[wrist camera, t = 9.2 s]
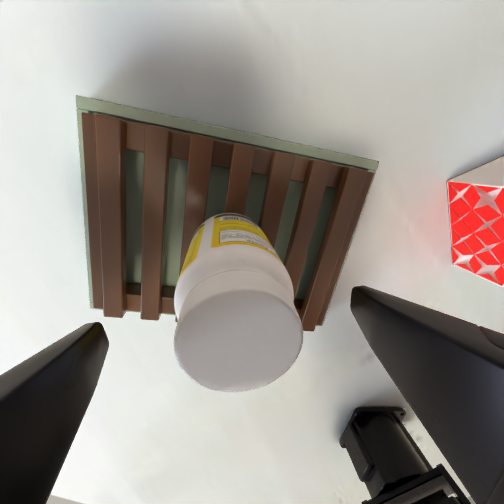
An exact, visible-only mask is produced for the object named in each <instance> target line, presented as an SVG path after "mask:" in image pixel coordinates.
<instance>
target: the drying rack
mask: <svg viewBox="0 0 504 504" xmlns="http://www.w3.org/2000/svg"><path fill="white" fill-rule="evenodd" d="M81 117H82V133H83V149H84V166H85V182H86V198H87V215H88V231H89V247H90V264H91V280H92V296H93V308H97V309H103V311H104V316H105V317H117V318H122V317H123V316H124V314H125V313H126V311H137V312H141V315H140V318H141V319H145V320H159V318H160V315H161V313H163V314H176V313H175V308H174V294H175V289H176V287H169V286H163V270H164V253H165V235H166V217H167V200H168V182H169V165H170V158H175V159H180V160H186V161H189V162H188V174H187V186H186V198H185V210H184V222H183V234H182V246H181V258H180V270H179V276H180V273H181V270H182V267H183V265H184V262H185V258H186V255H187V252H188V249H189V246H190V243H191V240H192V237H193V235H194V233H195V232H196V230H197V229H198V228H199V226H200V225H201V224H202V223H204V222H205V215H206V207H207V198H208V189H209V181H210V172H211V165H212V166H217V167H223V168H228V169H230V173H229V180H228V187H227V194H226V202H225V209H224V213H236V214H241V215H244V214H245V208H246V202H247V196H248V190H249V185H250V179H251V173H255V174H260V175H265V176H268V178H267V183H266V189H265V194H264V199H263V204H262V209H261V214H260V219H259V224H258V226H259V227H260V228H261V229H262V231H263V232H264V234H265V236H266V237H267V239H268V240H269V242H270V244H271V245H272V247H273V249H274V247H275V242H276V238H277V234H278V229H279V225H280V221H281V216H282V212H283V208H284V203H285V199H286V194H287V190H288V186H289V181H290V180H292V181H297V182H302V183H304V184H303V188H302V192H301V196H300V200H299V204H298V208H297V212H296V216H295V220H294V224H293V228H292V232H291V236H290V240H289V244H288V248H287V252H286V256H285V260H284V264H283V265H284V266H285V268H286V270H287V272H288V274H289V276H290V279H291V281H292V285H293V291H294V297H295V294H296V290H297V287H298V283H299V280H300V276H301V273H302V269H303V266H304V262H305V259H306V255H307V252H308V248H309V244H310V241H311V237H312V234H313V230H314V227H315V223H316V220H317V216H318V213H319V209H320V206H321V202H322V199H323V195H324V191H325V188H326V187H329V188H334V189H337V192H336V195H335V199H334V202H333V205H332V209H331V212H330V215H329V219H328V222H327V225H326V229H325V232H324V235H323V239H322V242H321V245H320V249H319V252H318V255H317V258H316V262H315V265H314V268H313V272H312V275H311V278H310V282H309V285H308V288H307V292H306V295H305V298H304V299H295V298H294V301H293V303H294V306H295V308H296V310H297V313H298V315H299V317H300V320H301V323H302V328H303V331H314V329H315V326H316V325H322V323H323V320H324V317H325V314H326V312H327V309H328V306H329V303H330V300H331V297H332V294H333V291H334V288H335V286H336V283H337V280H338V277H339V274H340V271H341V268H342V265H343V262H344V260H345V257H346V254H347V251H348V248H349V245H350V242H351V239H352V236H353V233H354V231H355V228H356V225H357V222H358V219H359V216H360V213H361V210H362V207H363V205H364V202H365V199H366V196H367V193H368V190H369V187H370V184H371V181H372V179H373V176H374V173H373V172H369V171H367V170H363V169H359V168H354V167H346V166H340V165H335V164H332V163H330V162H325V161H320V160H316V159H306V158H302V157H297V156H295V155H292V154H287V153H282V152H277V151H275V152H273V151H268V150H263V149H258V148H256V147H253V146H249V145H244V144H239V143H230V142H225V141H220V140H215V139H213V138H210V137H206V136H201V135H196V134H186V133H182V132H177V131H172V130H169V129H167V128H162V127H158V126H153V125H148V124H145V125H143V124H138V123H134V122H129V121H124V120H122V119H119V118H115V117H110V116H105V115H100V114H90V113H85V112H82V113H81ZM126 149H127V150H133V151H138V152H143V153H144V173H143V220H142V268H141V284H137V283H127V282H126ZM175 321H176V322H178V319H177V317H176V318H175Z"/></svg>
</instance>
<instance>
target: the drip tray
mask: <svg viewBox="0 0 504 504" xmlns="http://www.w3.org/2000/svg"><path fill="white" fill-rule="evenodd" d="M76 107H77V121H78V136H79V151H80V166H81V181H82V196H83V211H84V226H85V241H86V256H87V271H88V286H89V301H90V309H97V308H93V296H92V280H91V264H90V247H89V231H88V215H87V198H86V182H85V166H84V149H83V133H82V117H81V113H82V112H85V113H90V114H100V115H105V116H110V117H115V118H119V119H122V120H124V121H129V122H134V123H138V124H143V125H145V124H148V125H153V126H158V127H162V128H167V129H169V130H172V131H177V132H182V133H186V134H196V135H201V136H206V137H210V138H213V139H215V140H220V141H225V142H230V143H239V144H244V145H249V146H253V147H256V148H258V149H263V150H268V151H273V152H275V151H277V152H282V153H287V154H292V155H295V156H297V157H302V158H306V159H316V160H320V161H325V162H330V163H332V164H335V165H340V166H346V167H354V168H359V169H363V170H367V171H369V172H373V173H374V175H375V172H376V171H375V170H376V169H377V166H378V163H379V161H375V160H370V159H366V158H361V157H357V156H352V155H347V154H343V153H338V152H334V151H329V150H325V149H320V148H315V147H311V146H306V145H302V144H297V143H293V142H288V141H284V140H279V139H274V138H270V137H265V136H261V135H256V134H252V133H247V132H242V131H238V130H233V129H229V128H224V127H220V126H215V125H210V124H206V123H201V122H197V121H192V120H188V119H183V118H178V117H174V116H169V115H165V114H160V113H156V112H151V111H146V110H142V109H137V108H133V107H128V106H124V105H119V104H114V103H110V102H105V101H101V100H96V99H92V98H87V97H82V96H78V95H76ZM188 162H189V161H186V160H180V159H175V158H170V165H169V182H168V200H167V217H166V235H165V253H164V270H163V286H169V287H176V285H177V281H178V279H179V270H180V258H181V246H182V234H183V222H184V210H185V198H186V186H187V174H188ZM143 173H144V153H143V152H138V151H133V150H127V149H126V282H127V283H137V284H141V268H142V220H143ZM229 173H230V169H228V168H223V167H217V166H212V165H211V172H210V181H209V189H208V198H207V207H206V215H205V221H206V220H208V219H209V218H211V217H213V216H215V215H218V214H223V213H224V209H225V202H226V194H227V187H228V180H229ZM267 178H268V176H265V175H260V174H255V173H251V179H250V185H249V190H248V196H247V202H246V208H245V214H244V216H246V217H248V218H250V219H251V220H253V221H254V222H255V223H256V224H257V225H258V224H259V219H260V214H261V209H262V204H263V199H264V194H265V189H266V183H267ZM373 178H374V176H373ZM372 181H373V179H372ZM372 181H371V184H372ZM303 184H304V183H302V182H297V181H292V180H290V181H289V186H288V190H287V194H286V199H285V203H284V208H283V212H282V216H281V221H280V225H279V229H278V234H277V238H276V242H275V247H274V250H275V252H276V253H277V255H278V257H279V258H280V260H281V261H282V263H283V264H284V260H285V256H286V252H287V248H288V244H289V240H290V236H291V232H292V228H293V224H294V220H295V216H296V212H297V208H298V204H299V200H300V196H301V192H302V188H303ZM371 184H370V187H371ZM370 187H369V189H370ZM336 192H337V189H334V188H329V187H326V188H325V191H324V195H323V199H322V202H321V206H320V209H319V213H318V216H317V220H316V223H315V227H314V230H313V234H312V237H311V241H310V244H309V248H308V252H307V255H306V259H305V262H304V266H303V269H302V273H301V276H300V280H299V283H298V287H297V290H296V294H295V297H294V298H295V299H304V298H305V295H306V292H307V288H308V285H309V282H310V278H311V275H312V272H313V268H314V265H315V262H316V258H317V255H318V252H319V249H320V245H321V242H322V239H323V235H324V232H325V229H326V225H327V222H328V219H329V215H330V212H331V209H332V205H333V202H334V199H335V195H336ZM368 192H369V190H368ZM367 195H368V193H367ZM366 198H367V196H366ZM365 201H366V199H365ZM364 204H365V202H364ZM363 207H364V205H363ZM363 207H362V210H363ZM362 210H361V212H362ZM360 215H361V213H360ZM359 218H360V216H359ZM358 221H359V219H358ZM357 224H358V222H357ZM356 227H357V225H356ZM355 230H356V228H355ZM354 233H355V231H354ZM354 233H353V236H354ZM353 236H352V238H353ZM351 241H352V239H351ZM350 244H351V242H350ZM349 247H350V245H349ZM348 250H349V248H348ZM347 253H348V251H347ZM346 256H347V254H346ZM345 259H346V257H345ZM344 261H345V260H344ZM343 264H344V262H343ZM342 267H343V265H342ZM341 270H342V268H341ZM340 273H341V271H340ZM339 276H340V274H339ZM338 279H339V277H338ZM337 282H338V280H337ZM336 285H337V283H336ZM335 287H336V286H335ZM334 290H335V288H334ZM333 293H334V291H333ZM332 296H333V294H332ZM331 299H332V297H331ZM330 302H331V300H330ZM329 305H330V303H329ZM328 308H329V306H328ZM101 310H103V309H101ZM327 310H328V309H327ZM127 312H137V311H127ZM326 313H327V312H326ZM161 314H163V313H161ZM167 315H176V314H167ZM325 316H326V314H325ZM324 319H325V317H324ZM323 322H324V320H323ZM322 325H323V323H322ZM322 325H316V326H322Z"/></svg>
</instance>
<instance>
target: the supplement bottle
mask: <svg viewBox="0 0 504 504" xmlns="http://www.w3.org/2000/svg"><path fill="white" fill-rule="evenodd" d="M293 301H294V291H293V285H292V281H291V279H290V276H289V274H288V272H287V270H286V268H285V266H284V265H283V263H282V261H281V260H280V258H279V257H278V255H277V253H276V252H275V250H274V249H273V247H272V245H271V244H270V242H269V240H268V239H267V237H266V236H265V234H264V232H263V231H262V229H261V228H260V227H259V226H258V225H257V224H256V223H255V222H254V221H253V220H251V219H250V218H248V217H246V216H244V215H241V214H236V213H223V214H218V215H215V216H213V217H211V218H209V219H208V220H206V221H205V222H204V223H202V224H201V225H200V226H199V228H198V229H197V230H196V232H195V233H194V235H193V237H192V240H191V243H190V246H189V249H188V252H187V255H186V258H185V262H184V265H183V267H182V270H181V273H180V276H179V279H178V281H177V285H176V289H175V294H174V308H175V313H176V317H177V319H178V322H177V327H176V331H175V337H174V351H175V355H176V359H177V361H178V363H179V365H180V367H181V368H182V370H183V371H184V372H185V373H186V374H187V375H188V376H189V377H190V378H191V379H192V380H193V381H195V382H196V383H198V384H200V385H202V386H204V387H206V388H209V389H212V390H216V391H223V392H243V391H249V390H254V389H257V388H259V387H262V386H265V385H267V384H269V383H271V382H273V381H275V380H276V379H278V378H279V377H280V376H282V375H283V374H284V373H285V372H286V371H287V370H288V369H289V368H290V367H291V366H292V365H293V363H294V362H295V360H296V358H297V357H298V355H299V353H300V350H301V347H302V343H303V328H302V323H301V320H300V317H299V315H298V313H297V310H296V308H295V306H294V303H293Z"/></svg>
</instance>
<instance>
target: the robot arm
mask: <svg viewBox="0 0 504 504" xmlns="http://www.w3.org/2000/svg"><path fill="white" fill-rule="evenodd" d="M350 307H351V311H352V313H353V315H354V317H355V319H356V321H357V323H358V325H359V327H360V328H361V330H362V332H363V334H364V336H365V338H366V340H367V341H368V343H369V345H370V347H371V348H372V350H373V351H374V353H375V355H376V356H377V357H378V359H379V360H380V362H381V363H382V365H383V366H384V368H385V369H386V371H387V372H388V374H389V375H390V377H391V378H392V380H393V381H394V383H395V384H396V386H397V387H398V389H399V390H400V392H401V393H402V395H403V396H404V398H405V399H406V401H407V402H408V403H409V405H410V406H411V408H412V409H413V411H414V412H415V414H416V415H417V417H418V418H419V420H420V421H421V423H422V424H423V426H424V427H425V429H426V430H427V432H428V433H429V435H430V436H431V438H432V439H433V441H434V442H435V444H436V445H437V446H438V448H439V449H440V451H441V452H442V454H443V455H444V457H445V458H446V460H447V461H448V463H449V464H450V466H451V467H452V469H453V470H454V472H455V473H456V475H457V476H458V478H459V479H460V481H461V482H462V484H463V485H464V487H465V488H466V489H467V491H468V492H469V494H470V495H471V497H472V498H473V500H474V501H475V503H476V504H504V334H502V333H499V332H496V331H493V330H490V329H487V328H484V327H482V326H479V327H478V326H477V325H476V324H473V323H470V322H467V321H464V320H461V319H459V318H456V317H453V316H450V315H447V314H444V313H441V312H439V311H436V310H433V309H430V308H427V307H424V306H421V305H418V304H416V303H413V302H410V301H407V300H404V299H401V298H398V297H396V296H393V295H390V294H387V293H384V292H381V291H378V290H376V289H373V288H370V287H367V286H357V287H354V288H353V289H352V294H351V304H350ZM108 347H109V341H108V338H107V335H106V333H105V330H104V328H103V326H102V324H101V323H99V322H95V323H88V324H85V325H83V326H82V327H80V328H78V329H77V330H75V331H73V332H72V333H70V334H68V335H67V336H65V337H63V338H62V339H60V340H58V341H57V342H55V343H53V344H52V345H50V346H48V347H47V348H45V349H43V350H42V351H40V352H38V353H37V354H35V355H33V356H32V357H30V358H28V359H27V360H25V361H23V362H22V363H20V364H18V365H17V366H15V367H14V368H12V369H10V370H9V371H7V372H5V373H4V374H2V375H0V504H46V502H47V500H48V498H49V495H50V493H51V491H52V489H53V486H54V484H55V482H56V479H57V477H58V475H59V472H60V470H61V468H62V465H63V463H64V461H65V459H66V456H67V454H68V452H69V449H70V447H71V445H72V442H73V440H74V438H75V435H76V433H77V431H78V429H79V426H80V424H81V422H82V419H83V417H84V415H85V412H86V410H87V408H88V405H89V403H90V401H91V398H92V396H93V393H94V391H95V388H96V385H97V382H98V379H99V376H100V373H101V370H102V367H103V363H104V360H105V357H106V354H107V351H108ZM405 415H406V412H405V410H404V409H403V408H356V409H355V410H354V412H353V414H352V417H351V419H350V421H349V423H348V425H347V427H346V429H345V431H344V433H343V435H342V438H341V440H340V442H339V443H340V445H341V447H342V448H346V449H347V451H348V453H349V456H350V458H351V460H352V463H353V465H354V467H355V470H356V472H357V474H358V476H359V479H360V480H361V481H362V482H365V484H366V486H367V489H368V491H369V493H370V495H371V498H372V499H370V500H368V501H367V500H365V501H363V502H362V504H471V503H470V502H469V500H468V499H467V498H466V496H465V495H464V493H463V492H462V491H461V489H460V488H459V487H458V485H457V484H456V483H455V481H454V480H453V479H452V477H451V476H450V475H449V473H448V472H447V471H446V469H445V468H444V466H443V465H442V464H439V465H437V467H436V468H434V469H433V468H432V467H431V465H430V464H429V462H428V461H427V459H426V458H425V456H424V455H423V453H422V452H421V450H420V449H419V447H418V446H417V445H416V443H415V442H414V440H413V439H412V437H411V436H410V434H409V433H408V431H407V430H406V428H405V427H404V425H403V424H402V423H401V422H402V420H403V418H404V417H405ZM453 493H454V495H455V496H456V497H453V496H451V497H449V498H448V495H451V494H453Z"/></svg>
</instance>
